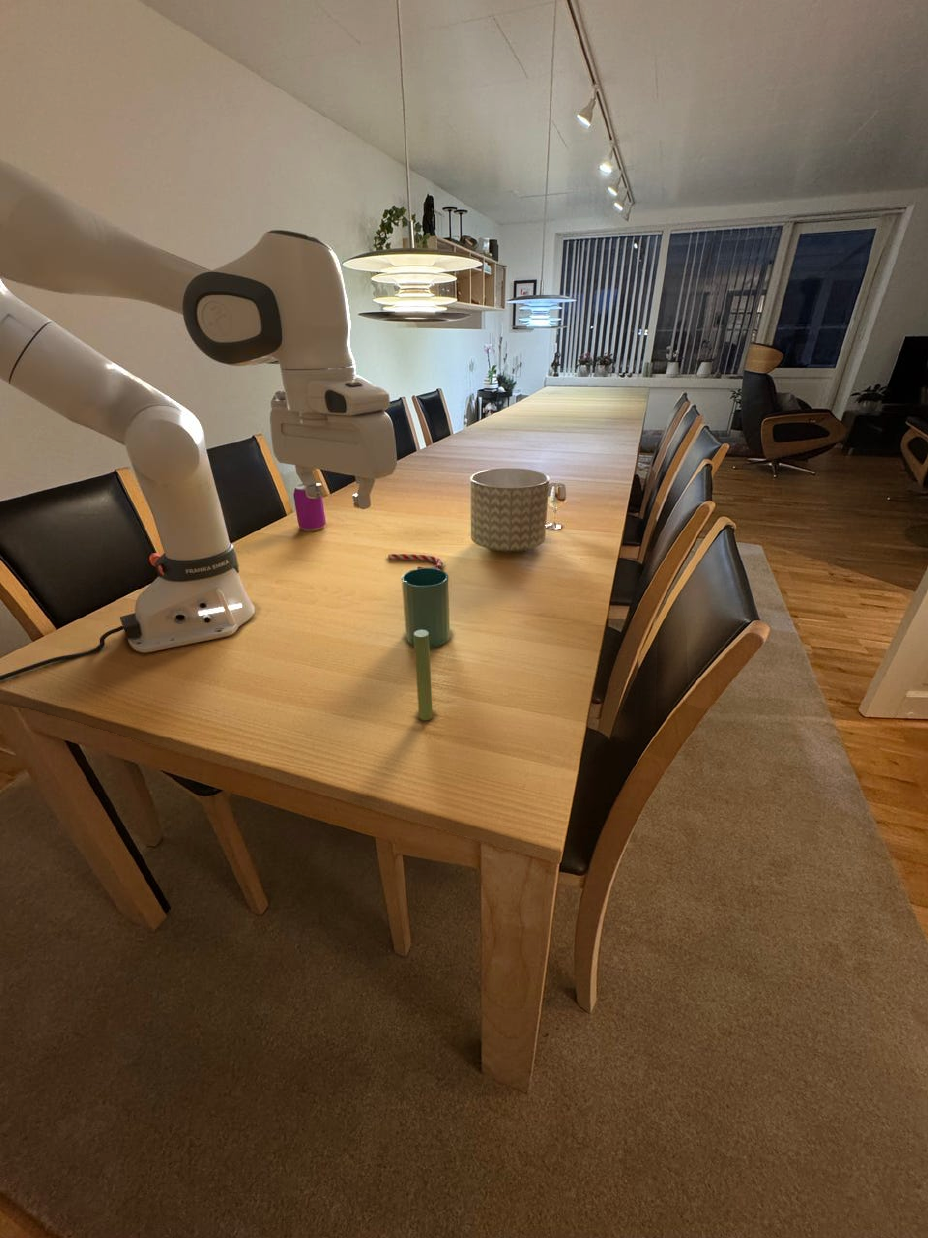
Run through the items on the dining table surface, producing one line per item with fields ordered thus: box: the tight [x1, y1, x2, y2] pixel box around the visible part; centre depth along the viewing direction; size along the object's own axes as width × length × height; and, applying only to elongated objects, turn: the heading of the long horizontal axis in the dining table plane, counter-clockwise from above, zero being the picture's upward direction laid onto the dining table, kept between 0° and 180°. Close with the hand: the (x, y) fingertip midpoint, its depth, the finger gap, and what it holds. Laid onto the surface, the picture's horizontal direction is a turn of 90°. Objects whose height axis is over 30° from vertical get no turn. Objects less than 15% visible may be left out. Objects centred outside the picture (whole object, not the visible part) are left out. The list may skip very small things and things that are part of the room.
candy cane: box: [387, 553, 444, 570], centre depth 124 cm, size 8×1×15 cm
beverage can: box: [292, 483, 327, 532], centre depth 146 cm, size 8×8×12 cm
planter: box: [470, 467, 550, 555], centre depth 129 cm, size 19×19×18 cm
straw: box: [413, 630, 434, 721], centre depth 71 cm, size 2×2×14 cm
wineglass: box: [546, 482, 567, 531], centre depth 144 cm, size 6×6×12 cm
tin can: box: [401, 568, 451, 649], centre depth 92 cm, size 8×8×12 cm
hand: (338, 502), depth 71 cm, fingers open, 8 cm apart
